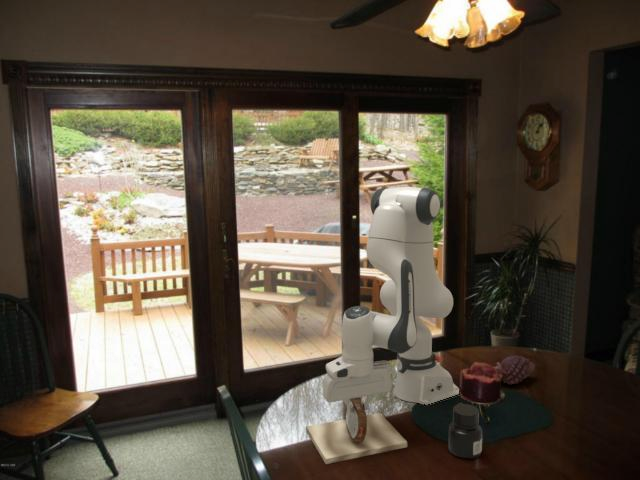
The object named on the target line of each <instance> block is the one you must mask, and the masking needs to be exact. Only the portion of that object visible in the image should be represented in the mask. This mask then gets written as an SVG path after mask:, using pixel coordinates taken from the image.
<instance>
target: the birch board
mask: <svg viewBox="0 0 640 480" xmlns="http://www.w3.org/2000/svg"><path fill="white" fill-rule="evenodd" d="M366 415H367V432H366V436H365V439H364V441H363V442H358V441H353V440H352V439H351V437H350V434H349V431H348V428H347V426H346V418H345V419H344V418H343V419H341V420H340V419H339V420H333V421H329V422H323V423H318V424H312V425H307V426H306V427H305V430H306V433H307V435H308V436H309V437H308V438H309V439H310V440H311V442H312V443H313V445H314V447H315V449H316V450H317V452H318V453H319V455H320V457H321V458H322V460H323V462H324V464H325V465H330V464H333V463H340V462H343V461H347V460H353V459H357V458H362V457H365V456H366V457H367V456H372V455H375V454H381V453H385V452H390V451H391V452H392V451H395V450H396V451H397V450H399V449H405V448H408V441H407V440H406V439H405V438H404V437H403V436H402V435H401V434H400V432H398V430H396V428H395V427H394V426H393V425H392V424H391V422H389V421H388V420H387V419H386V418H385V417H384V415H383V414H382V413H380V412H378V413H373V414H371V413H370V414H366Z"/></svg>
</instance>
